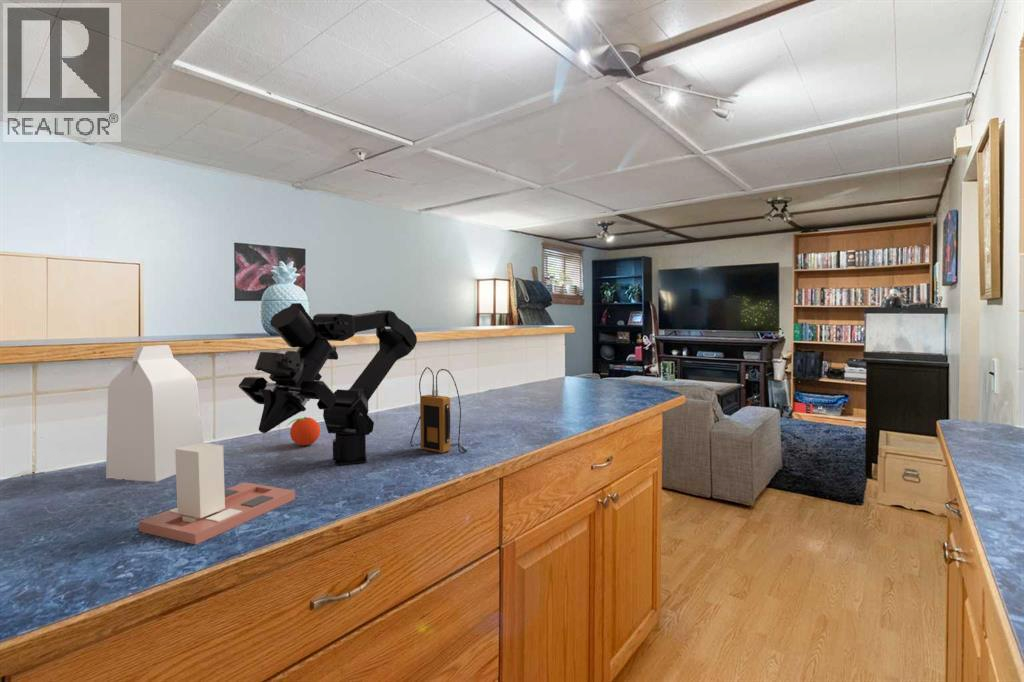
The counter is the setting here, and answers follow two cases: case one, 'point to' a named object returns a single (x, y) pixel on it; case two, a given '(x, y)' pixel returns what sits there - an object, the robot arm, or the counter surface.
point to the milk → (151, 416)
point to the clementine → (304, 431)
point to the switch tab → (199, 481)
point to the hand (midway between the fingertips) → (261, 431)
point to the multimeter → (436, 420)
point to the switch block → (219, 514)
